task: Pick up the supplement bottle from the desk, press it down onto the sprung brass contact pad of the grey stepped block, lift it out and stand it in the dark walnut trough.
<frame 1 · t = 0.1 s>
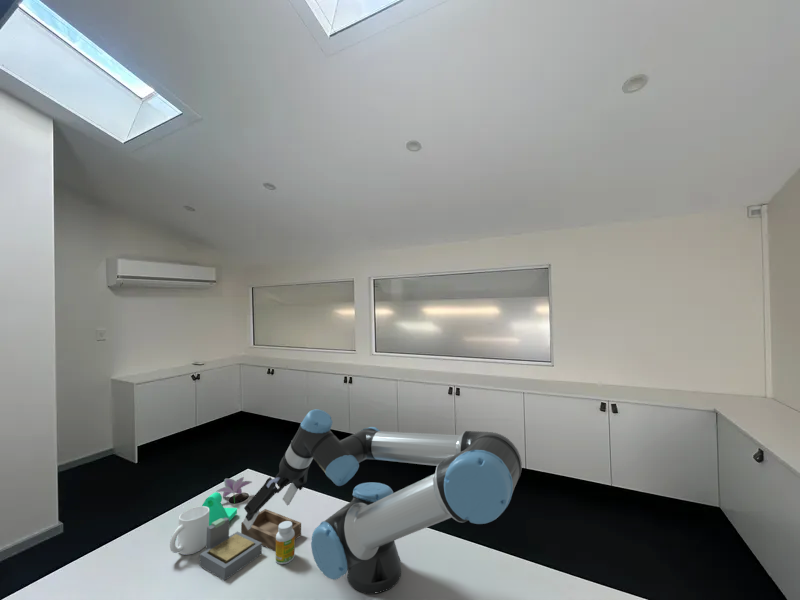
hand: (267, 512, 96), 15 cm above the table, tool tilted 35°, fingers open, 13 cm apart
supplement bottle: (285, 559, 98), on the table
contact pad: (231, 549, 99), point 3 cm above the table, slide at 0.3 cm
lily: (233, 499, 133), on the table
trough: (271, 535, 110), on the table
grey stepped block: (231, 559, 98), on the table
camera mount: (216, 521, 119), on the table
mug: (187, 551, 103), on the table
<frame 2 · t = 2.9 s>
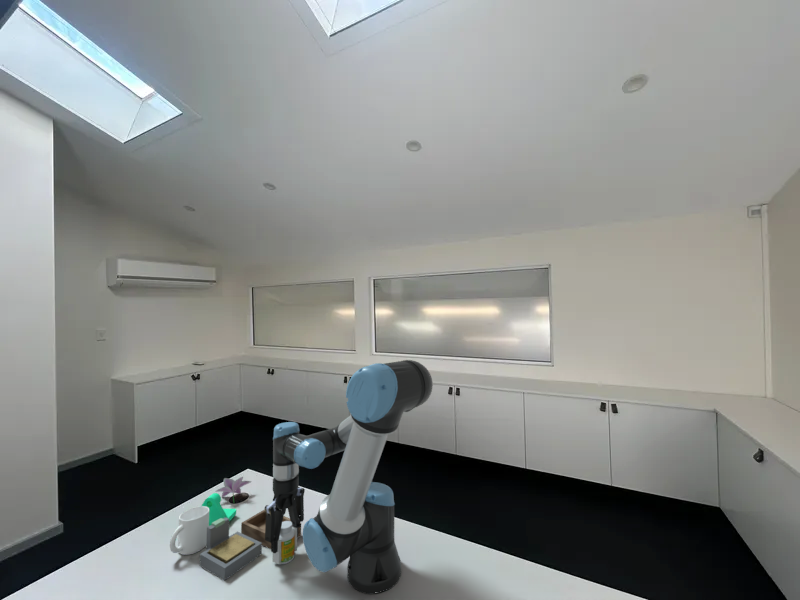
hand: (285, 555, 99), 1 cm above the table, tool pointing down, fingers closed on supplement bottle, 5 cm apart
supplement bottle: (285, 559, 98), on the table, touching gripper
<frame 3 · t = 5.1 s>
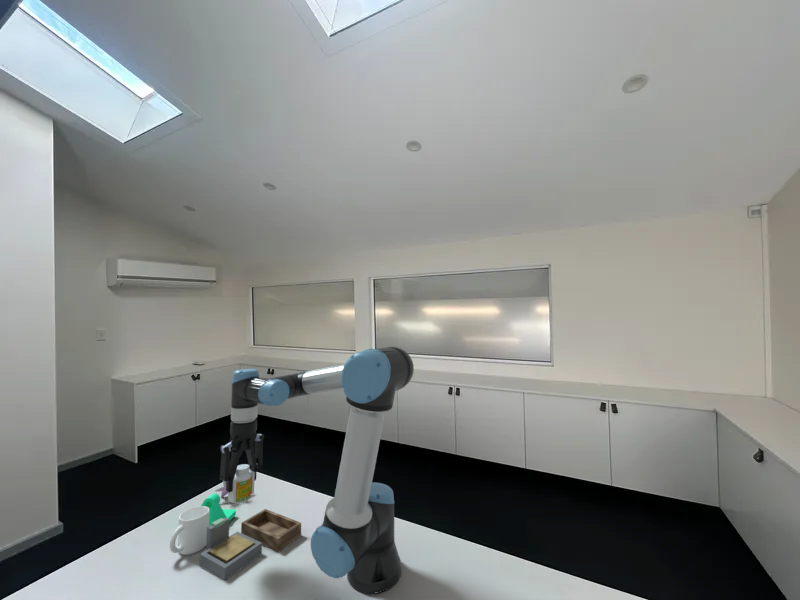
hand: (241, 496, 100), 18 cm above the table, tool pointing down, fingers closed on supplement bottle, 5 cm apart
supplement bottle: (241, 500, 100), point 17 cm above the table, touching gripper
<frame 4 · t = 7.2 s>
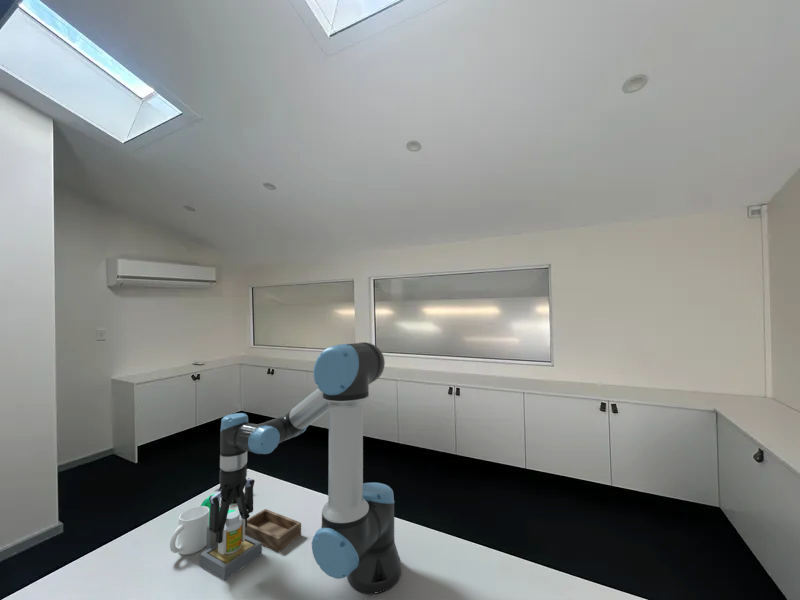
hand: (231, 546, 99), 4 cm above the table, tool pointing down, fingers closed on supplement bottle, 5 cm apart
supplement bottle: (231, 549, 99), point 3 cm above the table, touching contact pad, gripper
contact pad: (231, 551, 99), point 2 cm above the table, slide at 1.0 cm, touching supplement bottle
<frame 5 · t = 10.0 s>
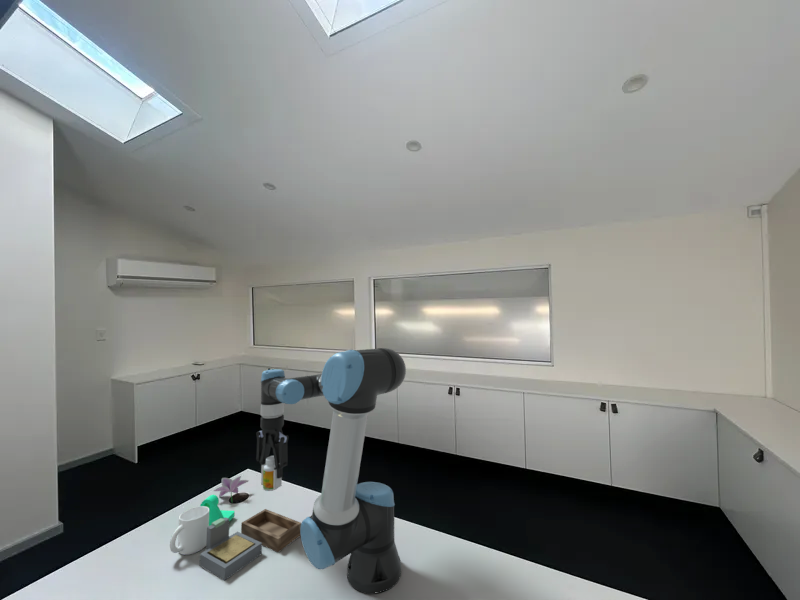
hand: (271, 485, 111), 16 cm above the table, tool pointing down, fingers closed on supplement bottle, 5 cm apart
supplement bottle: (271, 488, 111), point 15 cm above the table, touching gripper
contact pad: (231, 550, 99), point 3 cm above the table, slide at 0.5 cm
when the fingers open (3 cm above the table, at t = 12.3 s): supplement bottle stays where it is, resting on trough.
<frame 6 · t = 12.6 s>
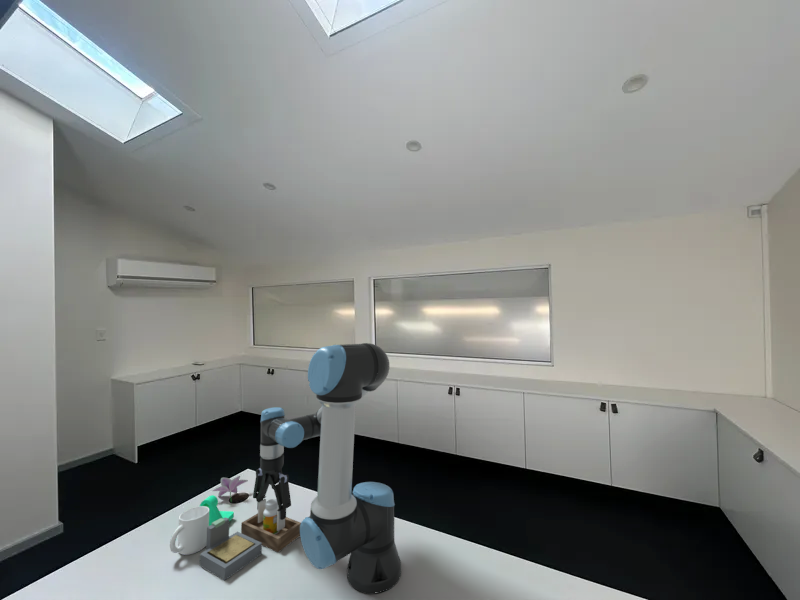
hand: (271, 524, 110), 3 cm above the table, tool pointing down, fingers open, 9 cm apart
supplement bottle: (271, 532, 110), point 1 cm above the table, touching trough
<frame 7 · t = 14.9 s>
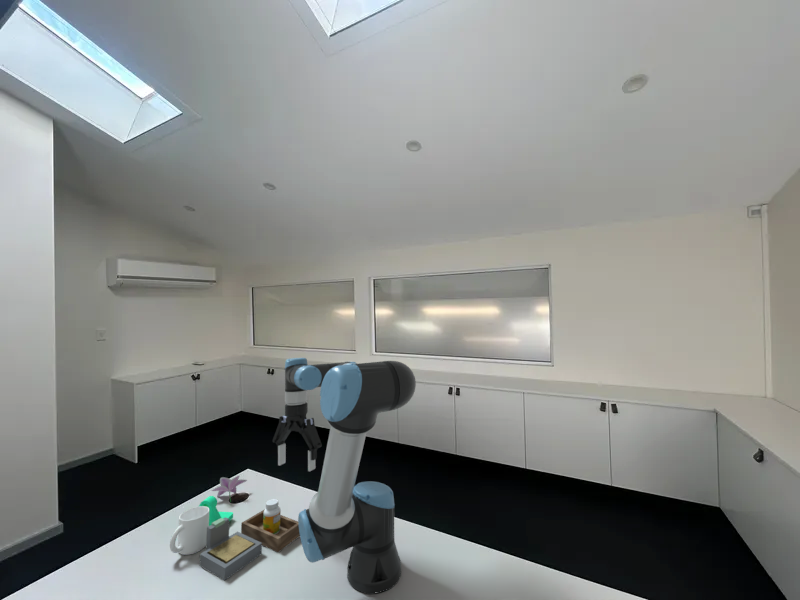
hand: (296, 466, 112), 22 cm above the table, tool pointing down, fingers open, 13 cm apart
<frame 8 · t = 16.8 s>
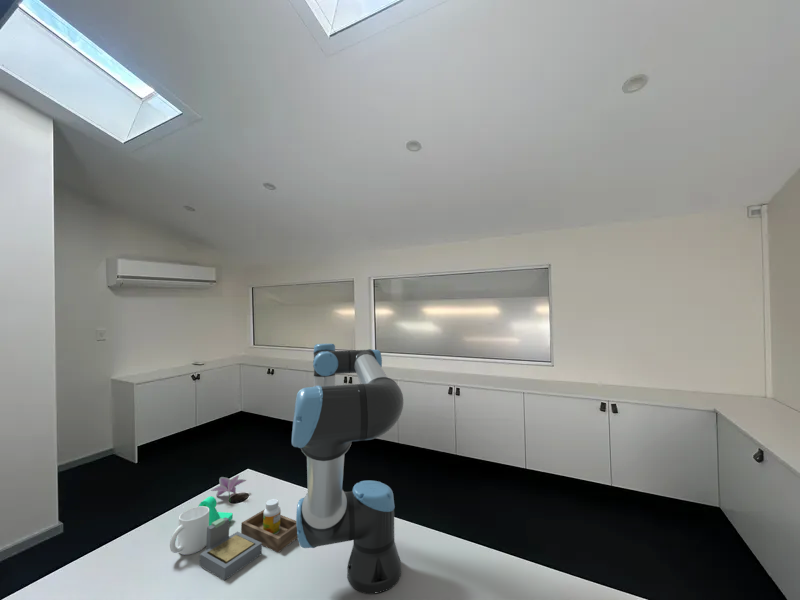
hand: (324, 449, 114), 27 cm above the table, tool pointing down, fingers open, 13 cm apart
at the end: supplement bottle inside the target area on the trough (0.2 cm from its centre), point 0.8 cm above the trough's base; supplement bottle tilted 0°; the gripper is holding nothing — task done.
